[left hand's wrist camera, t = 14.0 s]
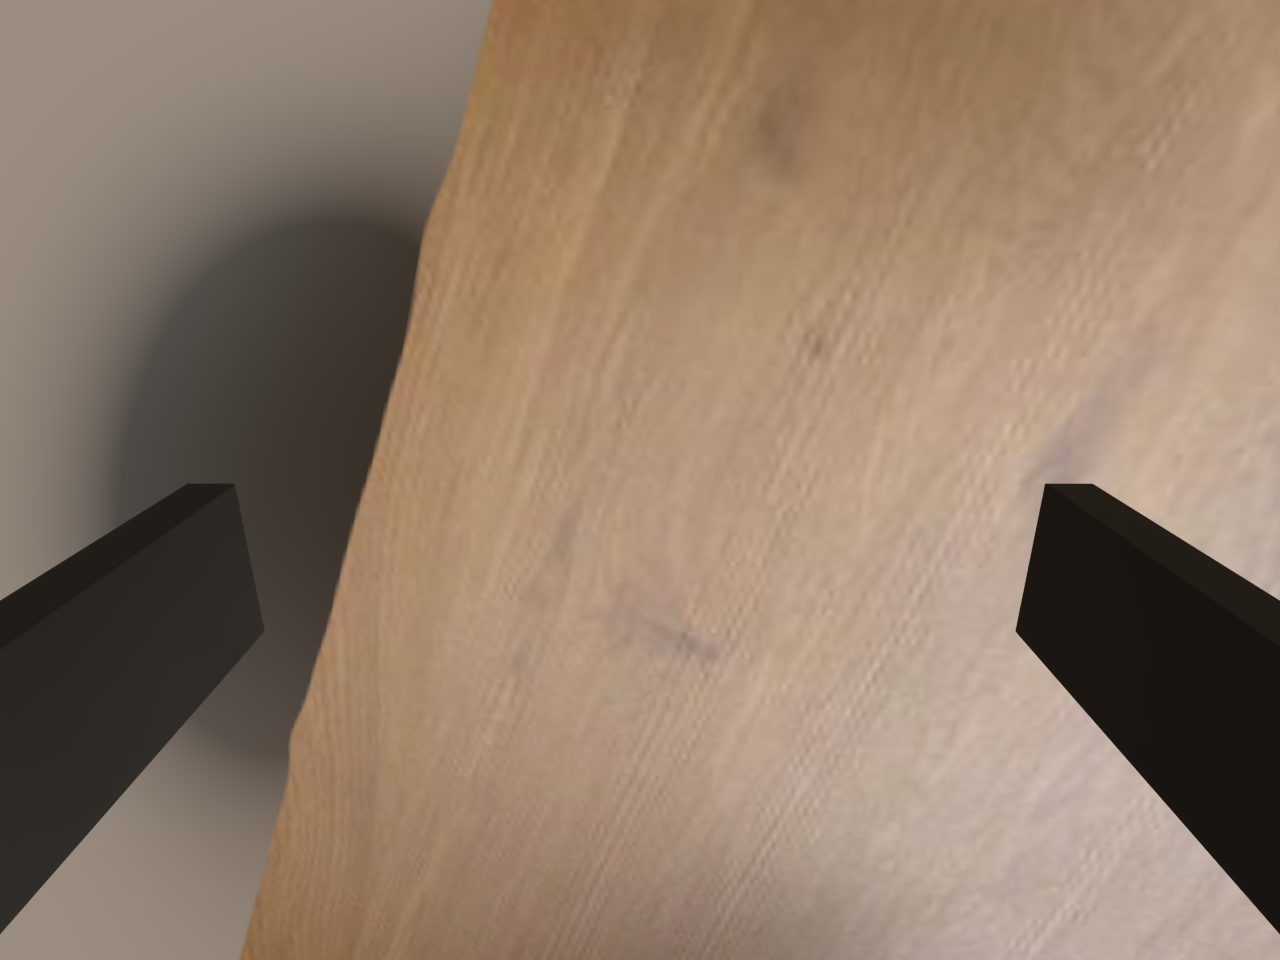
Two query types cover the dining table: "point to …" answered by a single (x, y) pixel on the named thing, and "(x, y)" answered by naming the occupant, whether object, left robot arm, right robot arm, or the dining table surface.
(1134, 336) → the dining table surface
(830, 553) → the dining table surface
